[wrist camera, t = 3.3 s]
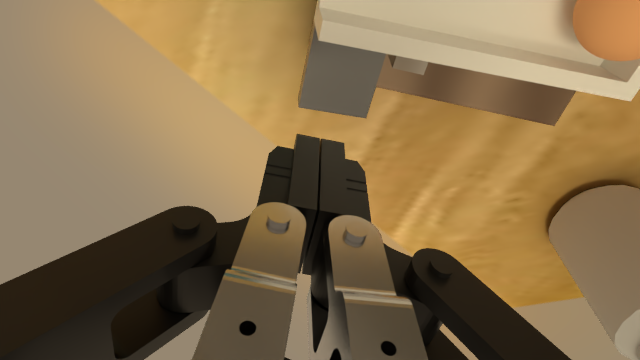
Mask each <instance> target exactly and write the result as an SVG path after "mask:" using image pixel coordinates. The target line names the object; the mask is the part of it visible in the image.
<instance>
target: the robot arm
mask: <svg viewBox="0 0 640 360" xmlns="http://www.w3.org/2000/svg"><path fill="white" fill-rule="evenodd" d="M302 263H303V271H302V273H303V274H307V275H311V286H310V290H309V293H308V296H307V314H308V344H309V360H468V358H467V357H466V356H465V355H464V354H462V352H461V351H460V350H459V349H458V348H457V347H456V346H455V345H454V344H453V343H452V342H451V341H450V340H449V339H448V338H447V337H446V336H445V335H444V334H443V333H442V332H441V331H440V330H439V328H440V327H441V325H442V324H444V325H445V326H446V327H447V328H448V329H449V330H450V331H451V332H452V333H453V334H454V335H455V336H456V337H457V338H458V339H459V340H460V341H461V342H462V343H463V344H464V345H465V346H466V347H467V348H468V349H469V350H470V351H471V352H472V353H473V354H474V355H475V356H476V357H477V358H478V359H479V360H571V359H570V358H569V357H568V356H566V355H565V354H564V353H563V352H562V351H561V350H560V349H558V348H557V347H556V346H555V345H554V344H553V343H552V342H550V341H549V340H548V339H547V338H546V337H545V336H543V335H542V334H541V333H540V332H539V331H538V330H537V329H535V328H534V327H533V326H532V325H531V324H530V323H528V322H527V321H526V320H525V319H524V318H523V317H522V316H521V315H519V314H518V313H517V312H516V311H515V310H514V309H512V308H511V307H510V306H509V305H508V304H507V303H506V302H504V301H503V300H502V299H501V298H500V297H499V296H498V295H496V294H495V293H494V292H493V291H492V290H491V289H490V288H488V287H487V286H486V285H485V284H484V283H483V282H481V281H480V280H479V279H478V278H477V277H476V276H475V275H473V274H472V273H471V272H470V271H469V270H468V269H467V268H465V267H464V266H463V265H462V264H461V263H460V262H458V261H457V260H456V259H455V258H454V257H452V256H451V255H449V254H447V253H445V252H443V251H440V250H437V249H431V248H426V249H421V250H419V251H417V252H416V253H415V254H414V256H413V257H410V256H408V255H405V254H403V253H401V252H398V251H396V250H394V249H392V248H390V247H388V246H387V245H386V244H384V243H383V241H382V237H381V234H380V232H379V230H378V229H377V228H376V227H375V226H374V225H373V224H372V223H371V216H370V209H369V201H368V193H367V185H366V177H365V171H364V170H363V169H362V167H361V166H360V164H359V163H358V162H357V161H353V160H348V159H345V149H344V143H341V142H336V141H331V140H326V139H321V140H320V138H315V137H310V136H305V135H300V134H297V136H296V140H295V145H294V149H290V148H285V147H280V146H277V147H276V148H275V149H274V150H273V151H272V152H270V153H269V156H268V161H267V164H266V169H265V173H264V178H263V182H262V186H261V190H260V195H259V200H258V203H257V207H256V208H255V209H254V210H253V211H252V213H251V215H250V216H248V217H246V218H244V219H242V220H239V221H234V222H225V223H217V222H216V219H215V218H214V216H213V215H212V214H210V213H209V212H208V211H206V210H204V209H201V208H198V207H193V206H180V207H175V208H171V209H168V210H166V211H164V212H161V213H159V214H157V215H155V216H153V217H151V218H148V219H146V220H144V221H142V222H139V223H137V224H135V225H133V226H131V227H128V228H126V229H124V230H121V231H119V232H117V233H115V234H112V235H110V236H108V237H106V238H104V239H101V240H99V241H97V242H95V243H92V244H90V245H88V246H86V247H84V248H81V249H79V250H77V251H75V252H72V253H70V254H68V255H66V256H63V257H61V258H59V259H57V260H55V261H52V262H50V263H48V264H46V265H43V266H41V267H39V268H37V269H34V270H32V271H30V272H28V273H26V274H23V275H21V276H19V277H17V278H14V279H12V280H10V281H8V282H5V283H3V284H1V285H0V360H144V359H145V358H147V357H148V356H149V355H151V354H152V353H154V352H155V351H157V350H158V349H159V348H161V347H162V346H164V345H165V344H166V343H168V342H169V341H171V340H172V339H173V338H175V337H176V336H178V335H179V334H180V333H182V332H183V331H185V330H186V329H188V328H189V327H190V326H192V325H193V324H195V323H196V322H197V321H199V320H200V319H201V318H203V317H204V316H205V315H206V313H207V312H208V310H210V313H209V316H208V318H207V321H206V323H205V326H204V329H203V331H202V334H201V337H200V339H199V342H198V345H197V347H196V350H195V352H194V355H193V358H192V360H290V359H288V358H285V351H286V345H287V340H288V334H289V328H290V322H291V317H292V312H293V306H294V300H295V295H296V288H297V284H296V279H297V274H298V273H300V271H301V267H302Z"/></svg>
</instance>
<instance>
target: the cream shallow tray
mask: <svg viewBox="0 0 640 360" xmlns="http://www.w3.org/2000/svg"><path fill="white" fill-rule="evenodd" d="M576 1H577V0H318V1H317V6H316V11H315V16H314V21H313V26H312V31H311V36H310V41H309V46H308V51H307V56H306V61H305V66H304V71H303V76H302V81H301V86H300V91H299V96H298V106H299V107H300V108H306V109H312V110H318V111H324V112H330V113H337V114H343V115H349V116H355V117H361V118H366V117H367V113H368V110H369V107H370V104H371V101H372V97H373V94H374V91H375V88H376V85H377V82H378V78H379V75H380V72H381V69H382V66H383V62H384V59H385V56H386V54H390V55H396V56H401V57H406V58H411V59H416V60H421V61H426V62H431V63H436V64H442V65H447V66H452V67H457V68H462V69H467V70H472V71H477V72H483V73H488V74H493V75H498V76H503V77H508V78H513V79H518V80H524V81H529V82H534V83H539V84H544V85H549V86H554V87H559V88H565V89H570V90H575V91H580V92H585V93H590V94H595V95H600V96H605V97H611V98H616V99H621V100H626V101H631V100H632V99H633V97H634V96H635V95H636V93H637V92H638V90H639V89H640V59H636V60H631V61H610V60H606V59H602V58H599V57H597V56H595V55H593V54H591V53H590V52H588V51H587V50H586V49H585V48H584V47H583V46H582V45H581V44H580V43H579V41H578V39H577V37H576V35H575V32H574V29H573V11H574V7H575V4H576Z"/></svg>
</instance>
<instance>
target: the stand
mask: <svg viewBox="0 0 640 360" xmlns="http://www.w3.org/2000/svg"><path fill="white" fill-rule="evenodd" d="M376 87H379V88H384V89H388V90H393V91H397V92H402V93H406V94H411V95H415V96H420V97H425V98H429V99H434V100H438V101H443V102H447V103H452V104H456V105H461V106H466V107H470V108H475V109H479V110H484V111H488V112H493V113H497V114H502V115H507V116H511V117H516V118H520V119H525V120H529V121H534V122H538V123H543V124H548V125H552V126H555V124H556V122H557V121H558V119H559V118H560V116H561V114H562V113H563V111H564V110H565V108H566V106H567V105H568V103H569V102H570V100H571V98H572V97H573V95H574V93H575V92H576V91H575V90H570V89H565V88H559V87H554V86H549V85H544V84H539V83H534V82H529V81H524V80H518V79H513V78H508V77H503V76H498V75H493V74H488V73H483V72H477V71H472V70H467V69H462V68H457V67H452V66H447V65H442V64H436V63H431V62H426V61H421V60H416V59H411V58H406V57H401V56H396V55H390V54H386V56H385V59H384V62H383V66H382V69H381V72H380V75H379V78H378V82H377V85H376Z"/></svg>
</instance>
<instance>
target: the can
mask: <svg viewBox="0 0 640 360" xmlns="http://www.w3.org/2000/svg"><path fill="white" fill-rule="evenodd" d="M548 231H549V240H550V242H551V244H552V245H553V247H554V248H555V250H556V252H557V253H558V255H559V256H560V258H561V260H562V261H563V263H564V265H565V266H566V268H567V269H568V271H569V273H570V274H571V276H572V277H573V279H574V281H575V282H576V284H577V286H578V287H579V289H580V290H581V292H582V294H583V295H584V297H585V298H586V300H587V302H588V303H589V305H590V306H591V308H592V310H593V311H594V313H595V314H596V316H597V318H598V319H599V321H600V323H601V324H602V326H603V327H604V329H605V331H606V332H607V334H608V336H609V337H610V339H611V340H612V342H613V344H614V345H615V347H616V348H617V350H618V351H619V352H620V354H622V355H623V356H626V357H627V358H629V359H631V360H640V189H638V188H635V187H631V186H626V185H608V186H604V187H597V188H593V189H589V190H586V191H584V192H582V193H580V194H578V195H576V196H574V197H572V198H571V199H570V200H569V201H567V202H566V203H565V204H564V205H563V206H562V207H561V209H560V210H559V211H558V212H557V214H556V215H555V216H554V218H553V219H552V222H551V224H550V227H549V230H548Z"/></svg>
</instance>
